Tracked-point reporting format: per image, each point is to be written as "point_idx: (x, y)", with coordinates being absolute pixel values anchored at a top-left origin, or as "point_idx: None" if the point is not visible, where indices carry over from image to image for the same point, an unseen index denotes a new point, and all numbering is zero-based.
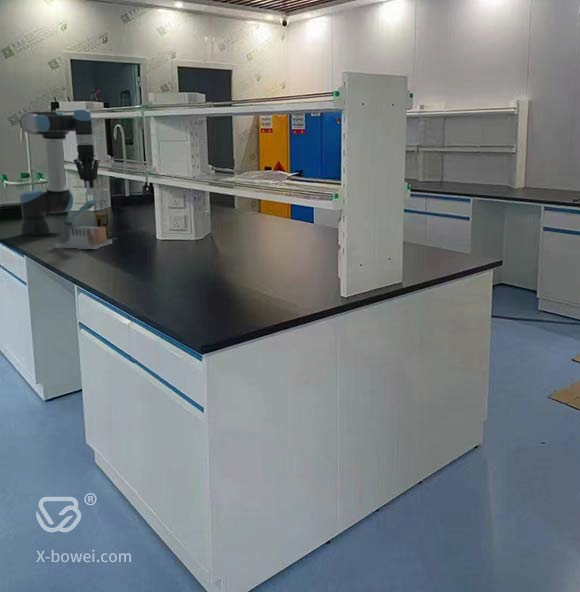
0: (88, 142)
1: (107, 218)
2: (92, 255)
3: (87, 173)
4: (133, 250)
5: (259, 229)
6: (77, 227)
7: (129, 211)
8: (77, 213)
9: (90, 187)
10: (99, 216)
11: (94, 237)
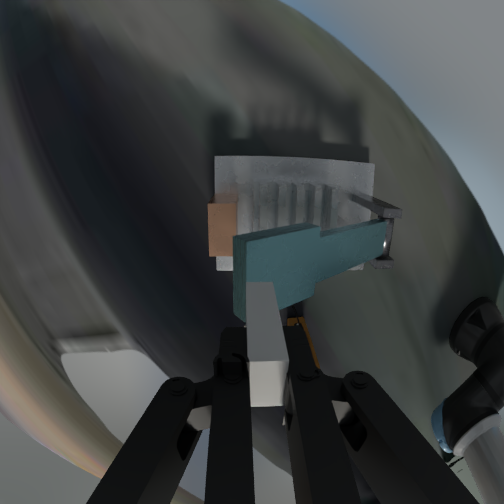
0: None
1: None
2: (176, 83)
3: (294, 467)
4: (98, 188)
5: (53, 422)
6: None
7: None
8: (332, 231)
9: (240, 329)
10: None
11: (235, 197)
